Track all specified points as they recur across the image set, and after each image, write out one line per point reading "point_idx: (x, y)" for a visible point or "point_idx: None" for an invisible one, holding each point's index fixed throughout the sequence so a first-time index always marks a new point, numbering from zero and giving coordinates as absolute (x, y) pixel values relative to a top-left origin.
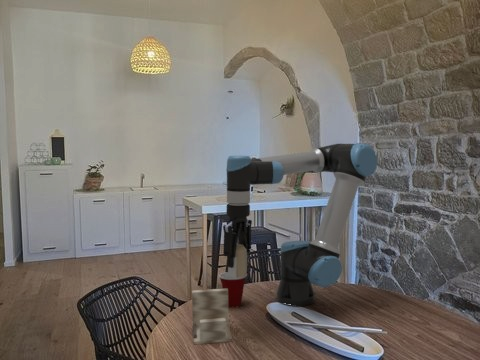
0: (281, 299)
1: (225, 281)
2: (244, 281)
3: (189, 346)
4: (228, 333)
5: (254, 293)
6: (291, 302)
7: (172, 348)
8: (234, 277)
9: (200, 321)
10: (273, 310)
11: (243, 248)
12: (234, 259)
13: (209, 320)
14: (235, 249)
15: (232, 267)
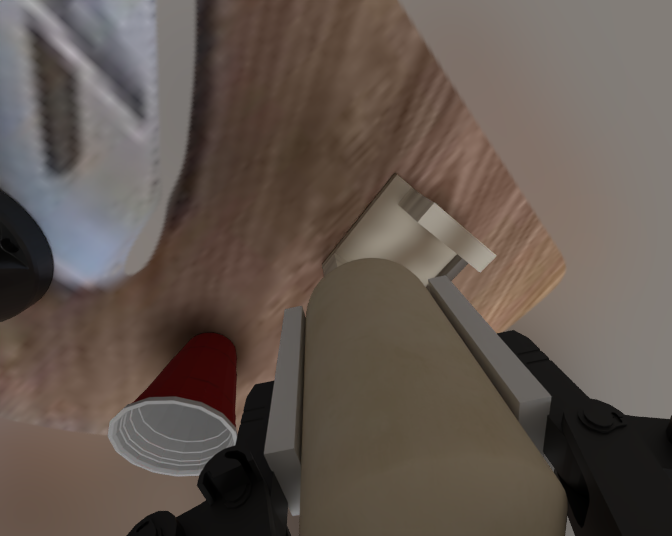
0: (39, 261)
1: (232, 419)
2: (148, 390)
3: (489, 240)
4: (377, 210)
5: (93, 369)
6: (13, 215)
7: (520, 262)
8: (446, 280)
9: (489, 260)
10: (121, 235)
11: (446, 519)
12: (535, 385)
13: (465, 246)
14: (642, 530)
15: (503, 332)
